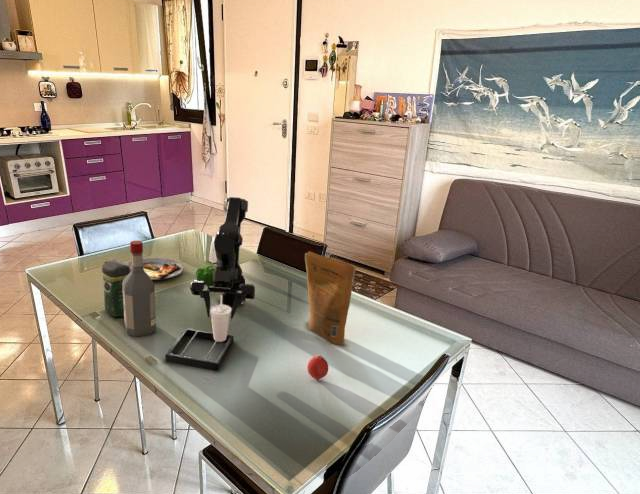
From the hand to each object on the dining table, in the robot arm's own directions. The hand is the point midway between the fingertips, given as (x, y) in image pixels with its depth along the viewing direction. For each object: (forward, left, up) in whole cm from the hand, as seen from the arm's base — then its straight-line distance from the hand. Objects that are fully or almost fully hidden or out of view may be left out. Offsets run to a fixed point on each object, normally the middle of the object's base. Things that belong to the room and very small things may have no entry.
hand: (219, 317), depth 125 cm
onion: (-19, +22, -13) cm, 32 cm away
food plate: (-4, -70, -13) cm, 72 cm away
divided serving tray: (+4, -5, -13) cm, 15 cm away
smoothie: (-1, -1, -8) cm, 8 cm away
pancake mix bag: (-37, +4, -13) cm, 39 cm away
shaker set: (-66, -37, -13) cm, 77 cm away
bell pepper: (-17, -46, -13) cm, 51 cm away
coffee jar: (+19, -41, -13) cm, 47 cm away
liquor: (+16, -26, -13) cm, 33 cm away
